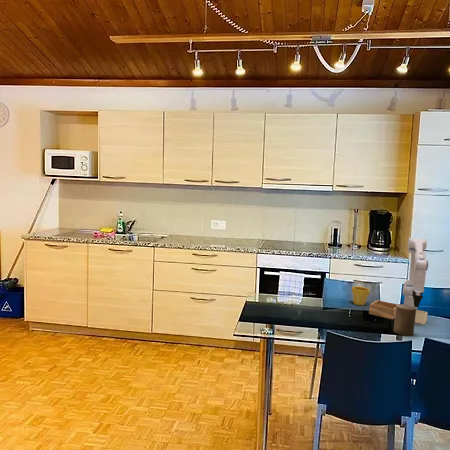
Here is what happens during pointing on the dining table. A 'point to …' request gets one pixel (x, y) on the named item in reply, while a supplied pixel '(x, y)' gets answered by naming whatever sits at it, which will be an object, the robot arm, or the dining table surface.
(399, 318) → the pillar candle
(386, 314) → the big crate
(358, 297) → the plant pot
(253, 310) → the dining table surface
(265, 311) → the dining table surface
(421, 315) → the small crate
